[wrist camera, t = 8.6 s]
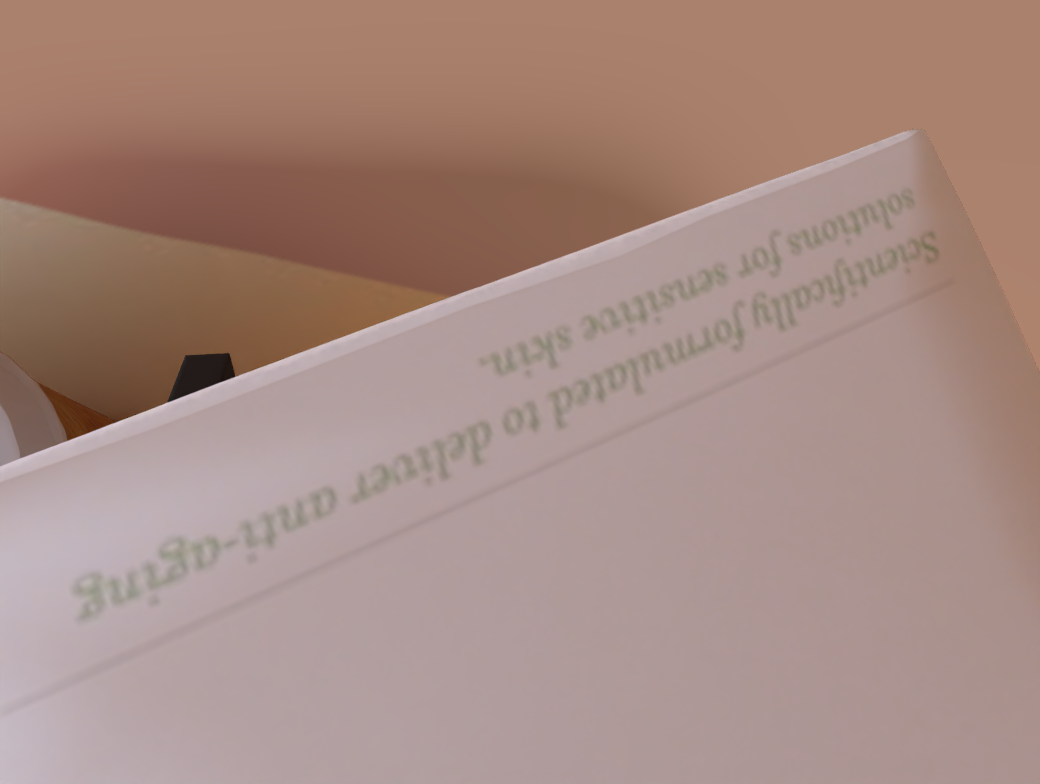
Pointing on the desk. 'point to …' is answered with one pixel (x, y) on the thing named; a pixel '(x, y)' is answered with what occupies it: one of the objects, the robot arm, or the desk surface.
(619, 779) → the cosmetic box
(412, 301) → the desk surface
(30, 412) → the disposable coffee cup
